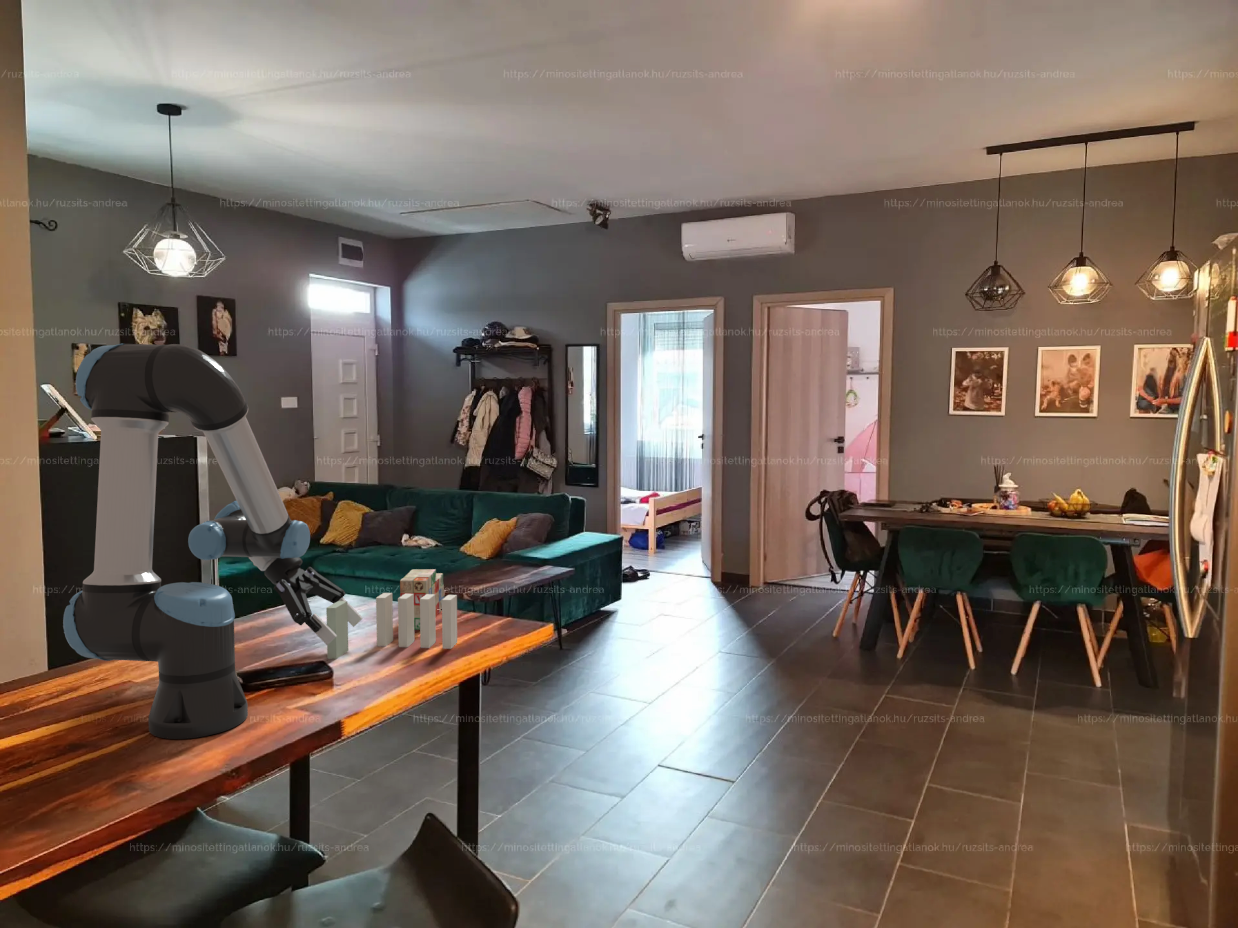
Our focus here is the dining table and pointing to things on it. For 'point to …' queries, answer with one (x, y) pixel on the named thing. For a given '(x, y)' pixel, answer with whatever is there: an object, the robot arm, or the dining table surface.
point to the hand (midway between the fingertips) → (345, 631)
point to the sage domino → (338, 629)
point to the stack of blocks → (423, 589)
